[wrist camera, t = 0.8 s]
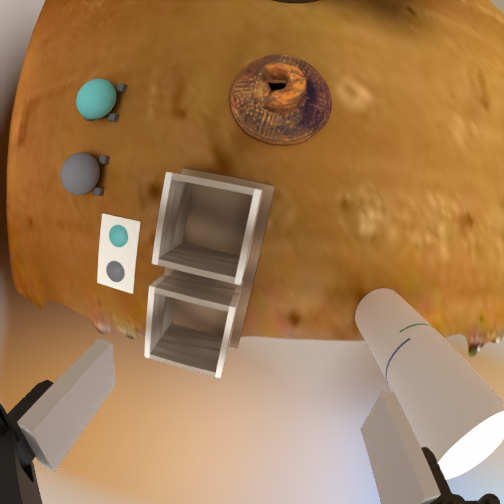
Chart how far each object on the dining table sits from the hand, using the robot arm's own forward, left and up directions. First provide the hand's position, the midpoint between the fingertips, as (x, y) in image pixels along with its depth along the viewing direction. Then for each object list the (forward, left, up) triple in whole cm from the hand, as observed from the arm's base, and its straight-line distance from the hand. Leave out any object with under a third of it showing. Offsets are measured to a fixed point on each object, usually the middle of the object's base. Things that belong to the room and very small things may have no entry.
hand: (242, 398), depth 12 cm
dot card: (+3, -19, -24) cm, 31 cm away
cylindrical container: (+3, +17, -24) cm, 30 cm away
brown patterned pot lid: (-20, -2, -24) cm, 32 cm away
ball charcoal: (-7, -25, -24) cm, 35 cm away
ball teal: (-17, -25, -24) cm, 38 cm away
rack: (+1, -6, -24) cm, 25 cm away
